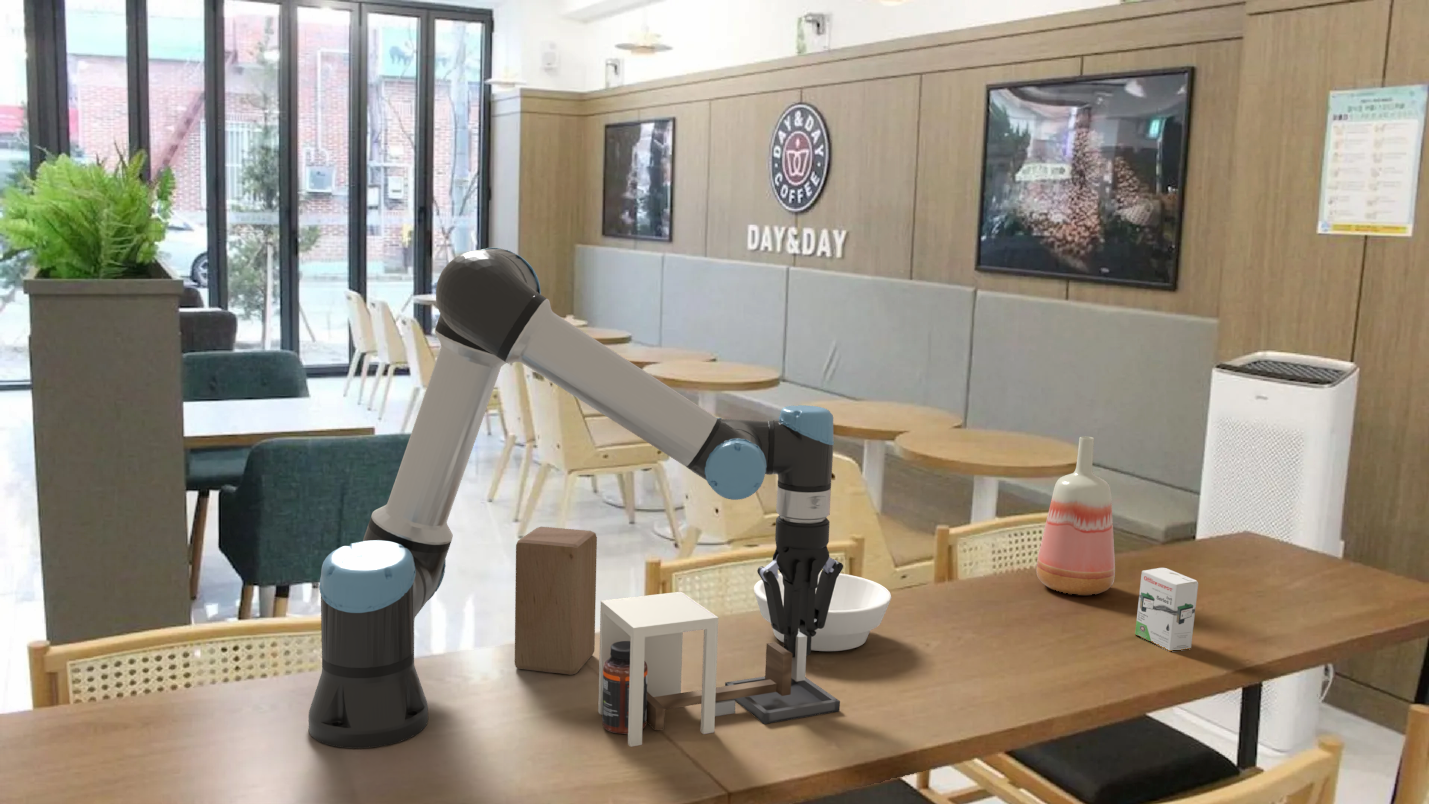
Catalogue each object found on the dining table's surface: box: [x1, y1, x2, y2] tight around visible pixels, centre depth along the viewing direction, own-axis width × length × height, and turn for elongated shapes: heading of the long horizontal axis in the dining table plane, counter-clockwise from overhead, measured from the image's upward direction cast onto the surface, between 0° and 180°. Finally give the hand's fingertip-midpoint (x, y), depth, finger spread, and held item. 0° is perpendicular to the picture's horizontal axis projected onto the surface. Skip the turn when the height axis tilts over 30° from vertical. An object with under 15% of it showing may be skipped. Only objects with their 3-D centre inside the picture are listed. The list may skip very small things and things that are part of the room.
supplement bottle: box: [601, 641, 647, 735], centre depth 159 cm, size 6×6×11 cm
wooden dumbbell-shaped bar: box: [646, 641, 792, 731], centre depth 165 cm, size 21×7×8 cm, turn 116°
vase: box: [1035, 435, 1116, 596], centre depth 228 cm, size 14×14×30 cm
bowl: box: [753, 571, 892, 652], centre depth 197 cm, size 22×22×8 cm
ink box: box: [1134, 567, 1199, 651], centre depth 201 cm, size 9×5×12 cm, turn 23°
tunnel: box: [597, 591, 736, 748], centre depth 162 cm, size 18×12×16 cm
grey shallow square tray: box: [724, 675, 841, 725], centre depth 170 cm, size 12×12×2 cm
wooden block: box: [514, 526, 598, 676], centre depth 181 cm, size 10×10×20 cm
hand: (796, 677), depth 171 cm, fingers closed
